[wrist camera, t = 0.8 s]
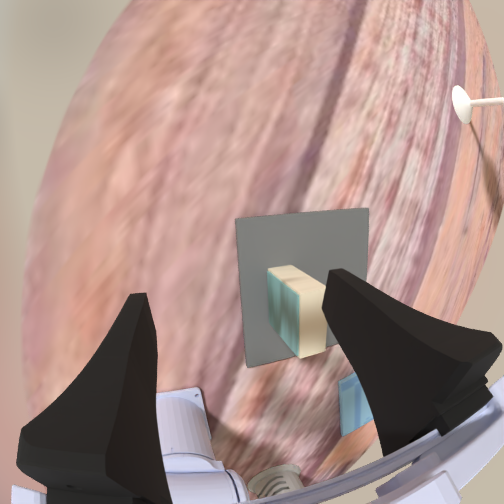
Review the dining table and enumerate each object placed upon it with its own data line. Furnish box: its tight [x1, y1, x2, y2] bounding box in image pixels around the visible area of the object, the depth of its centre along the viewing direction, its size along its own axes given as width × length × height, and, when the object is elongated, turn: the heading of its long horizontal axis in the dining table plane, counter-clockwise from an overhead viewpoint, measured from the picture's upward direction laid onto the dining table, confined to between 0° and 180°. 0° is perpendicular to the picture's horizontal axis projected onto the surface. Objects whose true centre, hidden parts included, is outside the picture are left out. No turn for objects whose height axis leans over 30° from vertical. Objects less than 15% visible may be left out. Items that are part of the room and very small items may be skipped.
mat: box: [235, 208, 369, 368], centre depth 31 cm, size 16×15×1 cm
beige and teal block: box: [267, 265, 327, 359], centre depth 26 cm, size 6×3×7 cm, turn 3°
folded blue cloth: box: [338, 373, 373, 436], centre depth 39 cm, size 14×12×1 cm
